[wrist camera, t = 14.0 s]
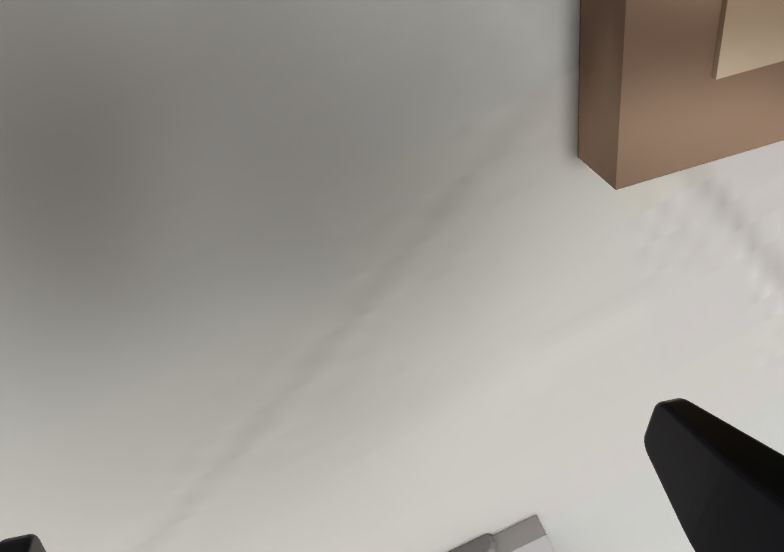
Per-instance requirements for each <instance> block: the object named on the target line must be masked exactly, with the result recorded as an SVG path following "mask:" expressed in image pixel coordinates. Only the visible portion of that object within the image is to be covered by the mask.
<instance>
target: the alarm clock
mask: <svg viewBox="0 0 784 552" xmlns="http://www.w3.org/2000/svg"><path fill="white" fill-rule="evenodd" d="M450 552H555V551H554V549H553V547H552V545H551V543H550V541H549V539H548V537H547V534H546V533H545V531H544V529H543V527H542V525H541V523H540V521H539V519H538V517H537V515H535V516H533V517H530V518H528V519H526V520H524V521H522V522H520V523H518V524H516V525H514V526H512V527H510V528H508V529H506V530H504V531H502V532H499V533H497V534H495V535H493V536H491V535H490V534H485V535H483V536H481V537H479V538H477V539H474V540H472V541H470V542H468V543H466V544H464V545H462V546H460V547H458V548H456V549H454V550H452V551H450Z"/></svg>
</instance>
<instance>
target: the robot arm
mask: <svg viewBox="0 0 784 552" xmlns="http://www.w3.org/2000/svg"><path fill="white" fill-rule="evenodd" d="M644 443H645V448H646V451H647V454H648V456H649V458H650V460H651V462H652V464H653V466H654V469H655V471H656V473H657V475H658V477H659V479H660V481H661V483H662V485H663V488H664V490H665V492H666V494H667V496H668V498H669V500H670V502H671V505H672V507H673V509H674V511H675V513H676V515H677V517H678V519H679V521H680V524H681V526H682V528H683V530H684V532H685V534H686V535H687V537H688V539H689V541H690V543H691V545H692V546H693V548H694V550H695V552H784V455H782V454H780V453H779V452H777V451H775V450H773V449H772V448H770V447H768V446H766V445H765V444H763V443H761V442H759V441H758V440H756V439H754V438H752V437H751V436H749V435H747V434H745V433H744V432H742V431H740V430H738V429H737V428H735V427H733V426H731V425H730V424H728V423H726V422H725V421H723V420H721V419H719V418H718V417H716V416H714V415H712V414H711V413H709V412H707V411H705V410H704V409H702V408H700V407H698V406H697V405H695V404H693V403H691V402H690V401H688V400H685V399H681V398H677V399H672V400H667V401H662V402H659V403H658V404H657V405H656V406H655V408H654V410H653V413H652V416H651V419H650V422H649V424H648V427H647V430H646V433H645V436H644ZM0 552H46V551H45V549H44V547H43V545H42V543H41V541H40V539H39V538H38V537H37V536H36V535H34V534H27V535H23V536H18V537H13V538H8V539H5V540H2V541H1V542H0Z"/></svg>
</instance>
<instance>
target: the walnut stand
mask: <svg viewBox="0 0 784 552" xmlns="http://www.w3.org/2000/svg"><path fill="white" fill-rule="evenodd" d="M783 140H784V0H581V10H580V78H579V146H578V157H579V158H580V159H581V160H582V161H583V162H584V163H585V164H587V165H588V166H589V167H590V168H591V169H592V170H593V171H595V172H596V173H597V174H598V175H599V176H600V177H601V178H603V179H604V180H605V181H606V182H607V183H608V184H609V185H611V186H612V187H613V188H614V189H615V190H617V189H620V188H624V187H627V186H630V185H634V184H637V183H640V182H644V181H647V180H651V179H654V178H657V177H661V176H664V175H668V174H671V173H674V172H678V171H681V170H684V169H688V168H691V167H695V166H698V165H701V164H705V163H708V162H711V161H715V160H718V159H722V158H725V157H728V156H732V155H735V154H739V153H742V152H745V151H749V150H752V149H755V148H759V147H762V146H766V145H769V144H772V143H776V142H779V141H783Z"/></svg>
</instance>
